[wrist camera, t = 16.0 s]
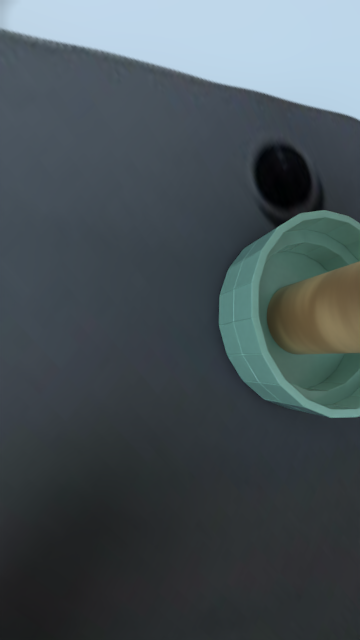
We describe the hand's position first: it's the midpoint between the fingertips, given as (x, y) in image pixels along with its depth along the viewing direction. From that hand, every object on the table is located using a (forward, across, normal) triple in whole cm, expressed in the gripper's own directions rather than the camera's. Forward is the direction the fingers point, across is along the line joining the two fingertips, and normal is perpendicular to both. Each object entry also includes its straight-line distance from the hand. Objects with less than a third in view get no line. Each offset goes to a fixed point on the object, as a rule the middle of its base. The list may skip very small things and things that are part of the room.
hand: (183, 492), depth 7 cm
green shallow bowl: (+16, -10, -1) cm, 19 cm away
